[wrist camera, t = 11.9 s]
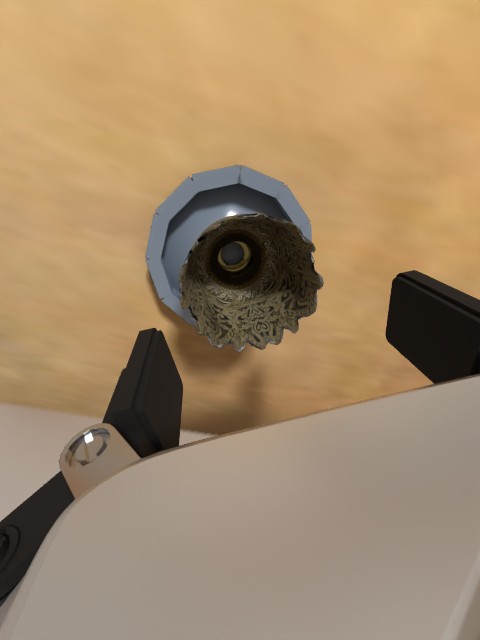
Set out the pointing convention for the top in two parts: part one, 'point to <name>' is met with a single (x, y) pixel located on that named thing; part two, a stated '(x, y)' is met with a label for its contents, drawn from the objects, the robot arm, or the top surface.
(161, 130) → the top surface
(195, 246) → the cup
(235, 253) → the dish
